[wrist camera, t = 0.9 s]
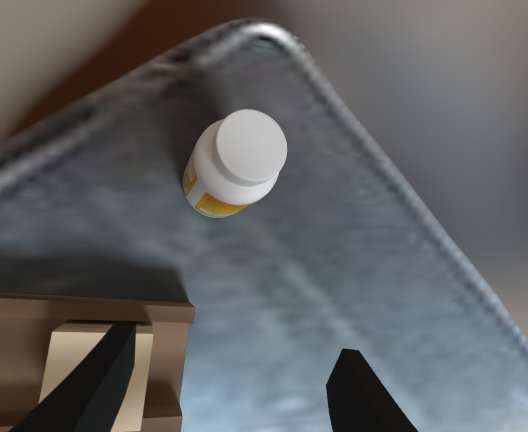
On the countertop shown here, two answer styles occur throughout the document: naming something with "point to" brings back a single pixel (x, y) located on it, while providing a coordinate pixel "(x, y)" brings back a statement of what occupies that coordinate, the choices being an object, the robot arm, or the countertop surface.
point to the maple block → (76, 349)
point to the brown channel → (89, 308)
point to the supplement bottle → (234, 163)
